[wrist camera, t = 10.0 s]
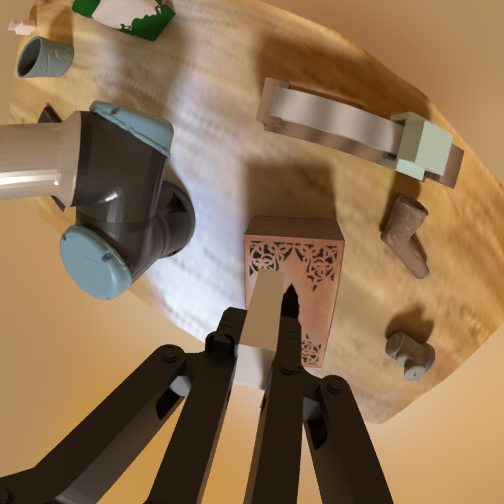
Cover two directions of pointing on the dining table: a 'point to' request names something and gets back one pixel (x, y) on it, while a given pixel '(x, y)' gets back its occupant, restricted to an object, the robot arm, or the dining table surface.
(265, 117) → the rail
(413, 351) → the pipe fitting
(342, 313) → the dining table surface
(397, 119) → the pale green slider block
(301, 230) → the tissue box cover
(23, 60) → the grey green cup
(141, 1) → the milk carton
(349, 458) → the robot arm
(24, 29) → the salt shaker
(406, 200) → the pipe
